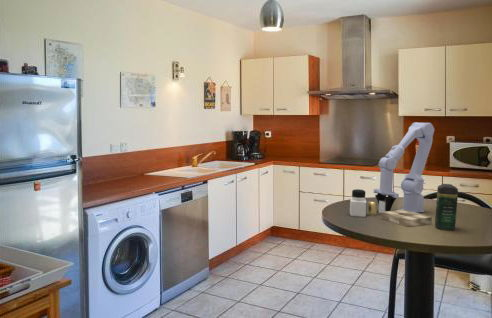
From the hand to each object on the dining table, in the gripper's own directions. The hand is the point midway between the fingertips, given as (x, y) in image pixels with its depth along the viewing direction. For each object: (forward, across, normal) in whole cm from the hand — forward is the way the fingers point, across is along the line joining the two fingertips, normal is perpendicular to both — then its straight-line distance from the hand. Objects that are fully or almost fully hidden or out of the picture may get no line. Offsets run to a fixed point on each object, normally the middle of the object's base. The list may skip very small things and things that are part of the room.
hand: (384, 210), depth 213 cm
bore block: (+1, +16, -3) cm, 16 cm away
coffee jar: (+2, +31, +4) cm, 31 cm away
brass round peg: (+1, 0, -8) cm, 8 cm away
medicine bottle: (+2, -2, -15) cm, 15 cm away
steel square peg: (+2, 0, 0) cm, 2 cm away
